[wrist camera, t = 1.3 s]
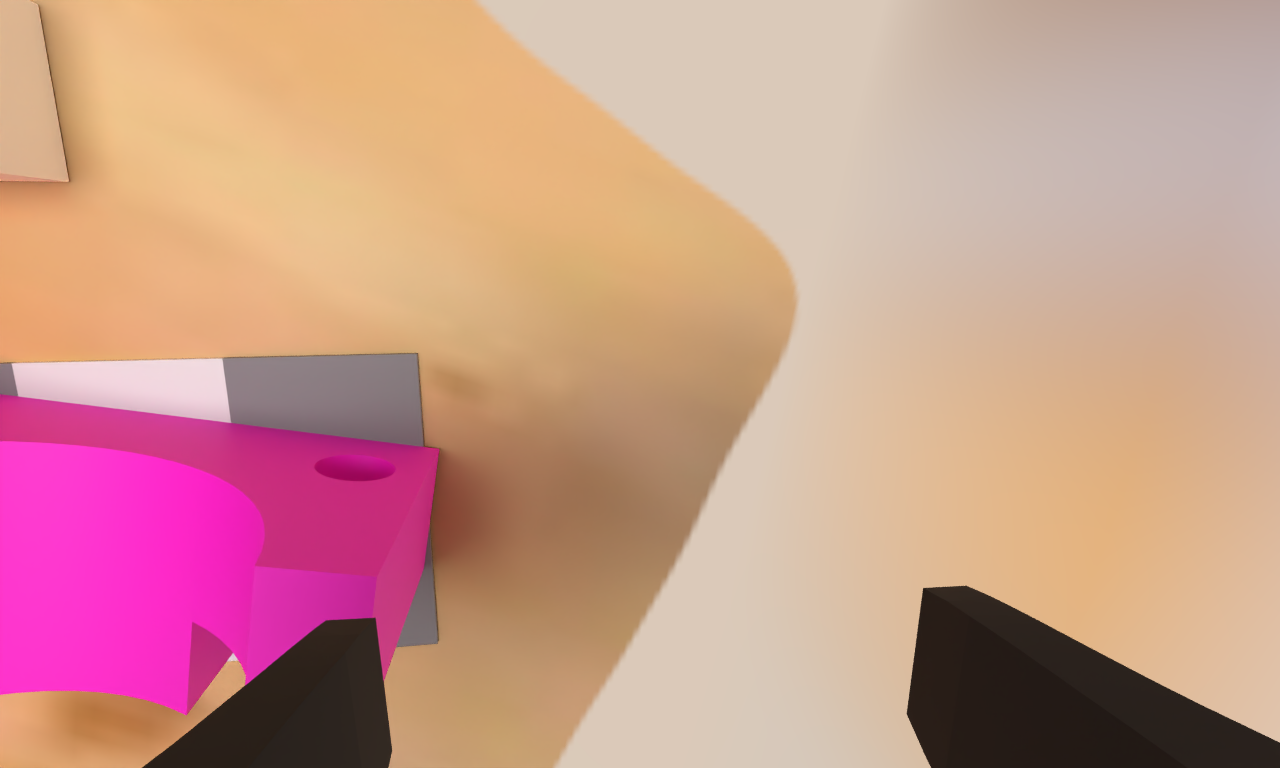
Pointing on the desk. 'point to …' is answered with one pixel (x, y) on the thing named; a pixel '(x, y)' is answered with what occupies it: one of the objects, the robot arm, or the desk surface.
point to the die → (27, 99)
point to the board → (259, 408)
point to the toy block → (193, 545)
